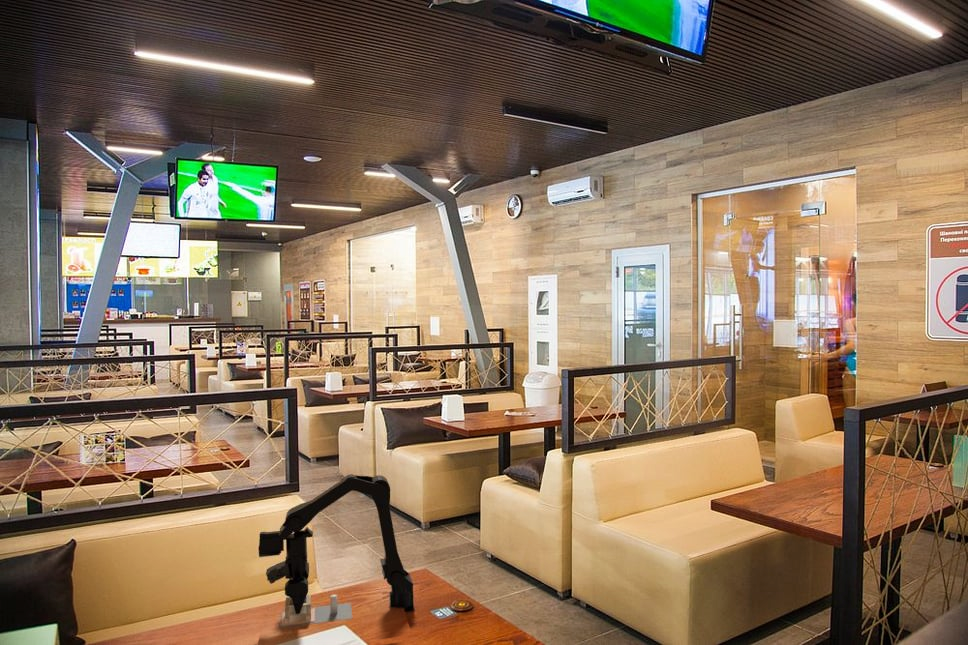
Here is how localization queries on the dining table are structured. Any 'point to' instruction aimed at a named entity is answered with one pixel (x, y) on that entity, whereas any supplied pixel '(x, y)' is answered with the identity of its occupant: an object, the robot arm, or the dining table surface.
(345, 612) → the stand board
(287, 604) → the beige square hollow block
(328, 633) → the dining table surface
